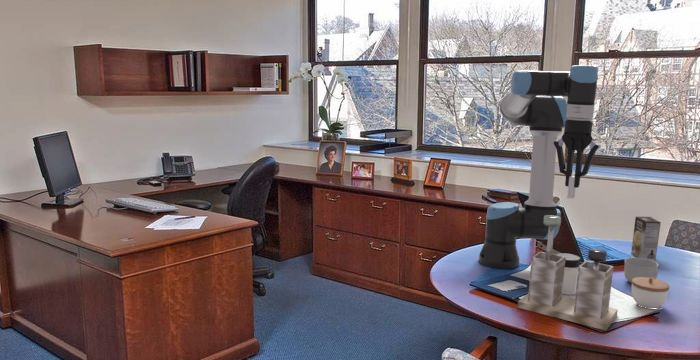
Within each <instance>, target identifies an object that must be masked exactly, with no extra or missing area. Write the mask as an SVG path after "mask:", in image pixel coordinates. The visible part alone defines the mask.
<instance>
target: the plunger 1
mask: <svg viewBox="0 0 700 360" xmlns="http://www.w3.org/2000/svg"><path fill="white" fill-rule="evenodd" d="M561 222H562V217H559V216H554V215H545V216H544V221H543V224H544V225H546V226H549V230H548V239H547V243H546V252H545V253H546V260H549V261H551V257H552V254H553V247H554V246H553V244H554V238H553V236H554V227H559V226H561V224H562V223H561ZM559 228H560V227H559Z"/></svg>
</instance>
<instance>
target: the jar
mask: <svg viewBox="0 0 700 360" xmlns="http://www.w3.org/2000/svg"><path fill="white" fill-rule="evenodd" d="M555 255H560V256H565V257H566V258H565V269H564V279H563V289H562V295H570V296H576V286H577V276H578V267H579V266H580V265H581V257H580V256H578V255H576V254H572V253H567V252H566V253H565V252H564V253H563V252H561V253H556V254H555Z"/></svg>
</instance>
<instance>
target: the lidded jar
mask: <svg viewBox="0 0 700 360" xmlns="http://www.w3.org/2000/svg"><path fill="white" fill-rule="evenodd" d="M669 290H670V284H668V283H667V282H666V281H663V280H661V279H658V278H657V279H654V278H652V277H649V278H648V277H636V278H633V279H632V283H631V295H632V296H631V297H632V299H633V300H634V301H635V303H636V305H637V304H638V305H640V306H642V307H646V308H658V309H659V308H660V307H662V305H664V304H665V302H667V299H668V295H669ZM638 305H637V306H638ZM640 306H639V307H640ZM642 307H641V308H642ZM646 308H645V309H646Z"/></svg>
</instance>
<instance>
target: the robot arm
mask: <svg viewBox="0 0 700 360" xmlns="http://www.w3.org/2000/svg"><path fill="white" fill-rule="evenodd" d="M598 69H599V68H598V66H596V65H577V64H576V65H574V64H573V65H572V66H571V67H570V70H569V71H556V70H555V71H550V70H549V71H548V70H546V71H545V70H527V69H523V70H515V71H514V72H513V73H512V76H511V82H510V84H511V85H510V86H511V87H510V91H509V93H507V94H506V95H504V96H503V97H502V99H501V101H500V104H499V111H500V113H501V115H502V117H503V118H504V119H505V120H506V121H508V122H509V123H511V124H513V125H517V126H521V127H523V126H524V127H529V132H530V134H531V135H532V151H531V162H530V163H531V165H530V176H529V177H530V178H529V179H530V180H529V190H528V191H529V192H528V195H529V196H528V199H527V200H525V201H524V202H523V203H524V205H523V207H520V205H519V204H518V203H517V202H511V201H503V202H496V203H493V204H490V205H489V206H488V207H487V210H486V211H487V212H486V215H485V219H486V221H485V222H486V224H485V235H484V243H483V245H482V248H481V250H480V252H479V255H478V262H479V263H480V264H482V265H484V266H486V267H489V268H495V269H502V270H503V269H505V270H507V269H514V268H515V269H516V268H517V267H519V265H520V256H519V253H518V249H517V239H533V240H534V239H536V240H541V241H543V240H548V230H549V226H546V225H544V224H543V221H544V216H545V215H554V216H559V217H561V216H562V214H561V210H560V209H558V208H557V204H556V203H555V201H554V200H553V198H554V190H555V189H554V184H555V172H556V158H557V162H558V169H559V173H561V174H563V175H564V176H565V182H564V184H565V187H567V189H568V190H567V197H566V198H567V199H571V200H573V199H574V198H575V195H576V188H579V187H580V182H581V177H585V176H587V174H588V173H589V170H590V168H591V165H592V162H593V159H594V158H595V155H596V152H598V151H597V150H599V149H600V148H601V145H600V144H599V143H596V142H595V141H594V140H593V137H592V131H593V123H594V122H593V120H592V119H594V113H595V104H596V103H595V102H596V95H597V93H596V92H597V87H598V86H597V84H598V79H599V77H598V74H599V70H598ZM565 97H566V98H567V99H565ZM566 100H567V101H566ZM563 129H564V130H563ZM562 132H563V134H562ZM561 134H562V136H561V138H559V139H558V136H560V135H561ZM564 145H565V147H566V148H567V158H566V161H565V155H564V154H565V153H564V149H563V148H564V147H563V146H564ZM588 147H589V149H590V151H589V152H588V155H587V157H586V161H585V163H584V165H583V159H584V158H583V157H584V151H585V150H586V149H587V148H588ZM575 151H576V152H575ZM575 153H576V161H575V171H574V175H573V167H574V166H573V165H574V157H575ZM582 167H583V168H582ZM561 218H562V217H561ZM560 226H561V225H560ZM560 226H559V227H554V236H553V239H555V238H556V236H557V235H558V233H559V231H560Z"/></svg>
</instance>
